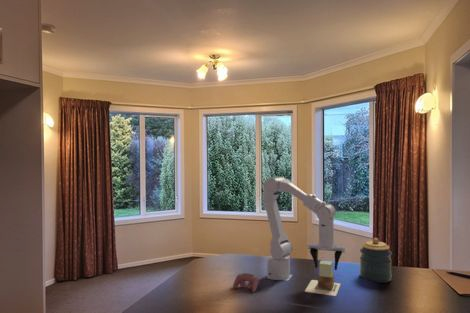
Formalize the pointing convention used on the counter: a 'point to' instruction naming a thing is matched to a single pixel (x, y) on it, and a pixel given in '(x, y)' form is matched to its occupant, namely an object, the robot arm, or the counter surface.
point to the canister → (375, 261)
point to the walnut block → (326, 282)
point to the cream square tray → (314, 289)
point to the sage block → (325, 268)
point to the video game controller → (246, 277)
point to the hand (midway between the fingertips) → (326, 268)
